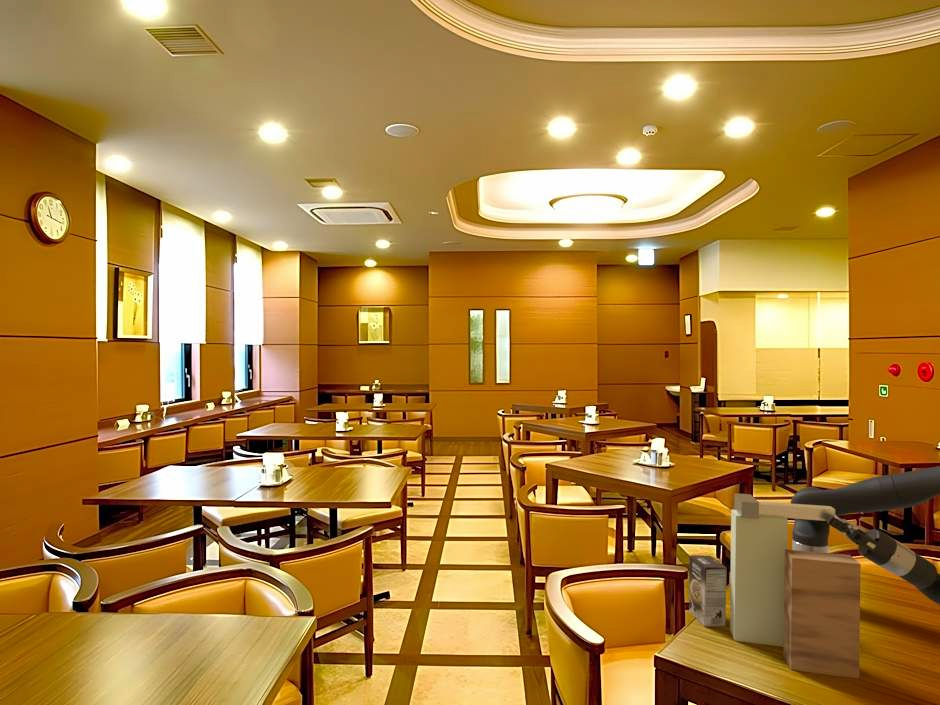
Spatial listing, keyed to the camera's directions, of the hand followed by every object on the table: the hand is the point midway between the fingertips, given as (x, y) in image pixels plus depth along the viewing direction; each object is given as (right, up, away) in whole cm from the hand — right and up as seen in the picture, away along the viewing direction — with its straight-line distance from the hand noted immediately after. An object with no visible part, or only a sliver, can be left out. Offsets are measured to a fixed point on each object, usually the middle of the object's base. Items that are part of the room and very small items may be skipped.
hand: (823, 514), depth 143 cm
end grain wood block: (-9, -1, +2) cm, 9 cm away
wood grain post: (-7, -33, -10) cm, 35 cm away
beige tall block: (-15, -33, +4) cm, 36 cm away
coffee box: (-23, -33, +14) cm, 43 cm away
